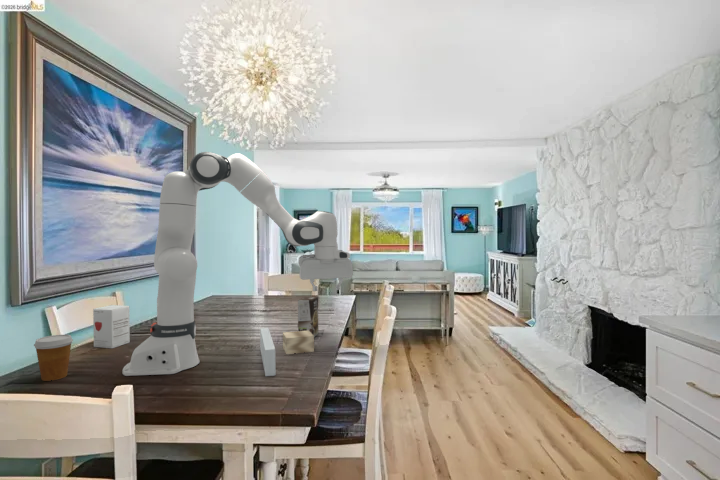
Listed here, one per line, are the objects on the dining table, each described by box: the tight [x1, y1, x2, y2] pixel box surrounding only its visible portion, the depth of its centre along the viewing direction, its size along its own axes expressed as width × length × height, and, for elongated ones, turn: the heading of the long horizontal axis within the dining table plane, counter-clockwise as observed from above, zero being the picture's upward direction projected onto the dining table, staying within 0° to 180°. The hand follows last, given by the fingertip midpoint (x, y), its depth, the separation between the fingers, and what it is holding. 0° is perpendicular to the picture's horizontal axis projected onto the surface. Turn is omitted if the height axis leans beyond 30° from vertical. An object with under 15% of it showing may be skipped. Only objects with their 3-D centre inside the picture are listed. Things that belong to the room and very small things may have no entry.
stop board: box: [259, 327, 277, 377], centre depth 138 cm, size 3×30×8 cm, turn 17°
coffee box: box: [297, 296, 319, 338], centre depth 171 cm, size 9×6×16 cm
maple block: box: [282, 330, 315, 355], centre depth 151 cm, size 10×9×6 cm
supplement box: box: [92, 304, 131, 349], centre depth 160 cm, size 9×9×15 cm
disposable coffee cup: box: [33, 334, 74, 382], centre depth 124 cm, size 10×10×12 cm
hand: (326, 290), depth 154 cm, fingers open, 7 cm apart
